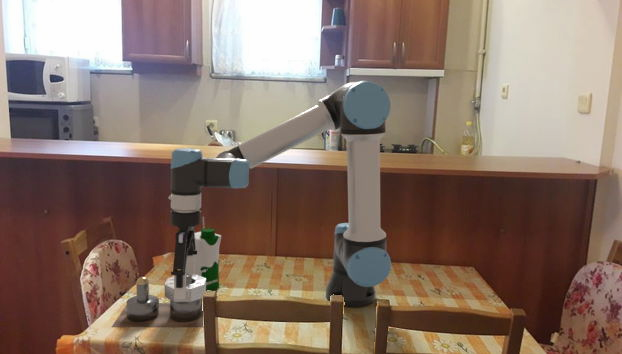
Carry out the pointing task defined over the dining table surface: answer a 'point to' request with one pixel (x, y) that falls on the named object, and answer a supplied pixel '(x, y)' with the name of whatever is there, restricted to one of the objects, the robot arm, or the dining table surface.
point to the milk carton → (207, 257)
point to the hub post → (142, 303)
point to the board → (157, 319)
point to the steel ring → (187, 289)
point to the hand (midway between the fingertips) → (184, 288)
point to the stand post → (185, 308)
